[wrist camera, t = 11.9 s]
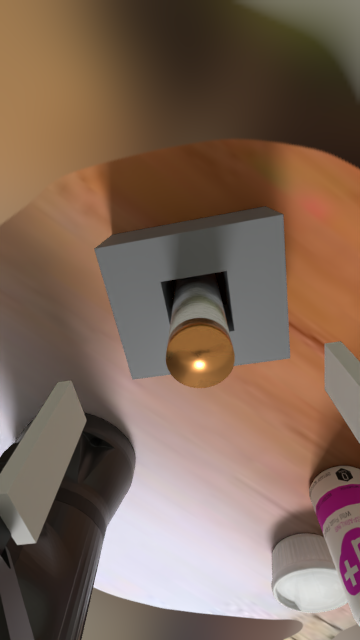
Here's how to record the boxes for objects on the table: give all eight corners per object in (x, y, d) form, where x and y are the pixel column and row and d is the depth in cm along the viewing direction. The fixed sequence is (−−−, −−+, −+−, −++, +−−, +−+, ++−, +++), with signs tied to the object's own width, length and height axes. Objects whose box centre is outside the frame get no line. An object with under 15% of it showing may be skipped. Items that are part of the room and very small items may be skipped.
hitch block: (141, 346, 34) (132, 379, 29) (112, 234, 30) (94, 248, 24) (273, 327, 33) (290, 358, 28) (265, 206, 28) (283, 214, 23)
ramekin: (250, 548, 49) (256, 589, 44) (311, 516, 45) (326, 557, 40) (294, 580, 52) (305, 622, 47) (355, 552, 48) (373, 594, 43)
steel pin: (180, 306, 32) (172, 391, 20) (172, 267, 31) (159, 334, 18) (219, 299, 32) (238, 383, 19) (214, 260, 30) (230, 323, 18)
